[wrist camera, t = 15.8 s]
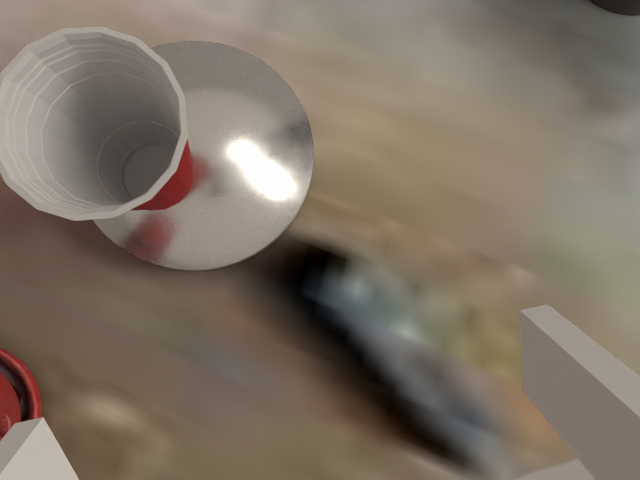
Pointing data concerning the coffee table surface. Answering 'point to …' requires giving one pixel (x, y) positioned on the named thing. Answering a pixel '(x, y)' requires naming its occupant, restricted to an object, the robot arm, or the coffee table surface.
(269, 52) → the coffee table surface
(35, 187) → the plastic cup
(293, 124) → the disc
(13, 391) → the plant pot
